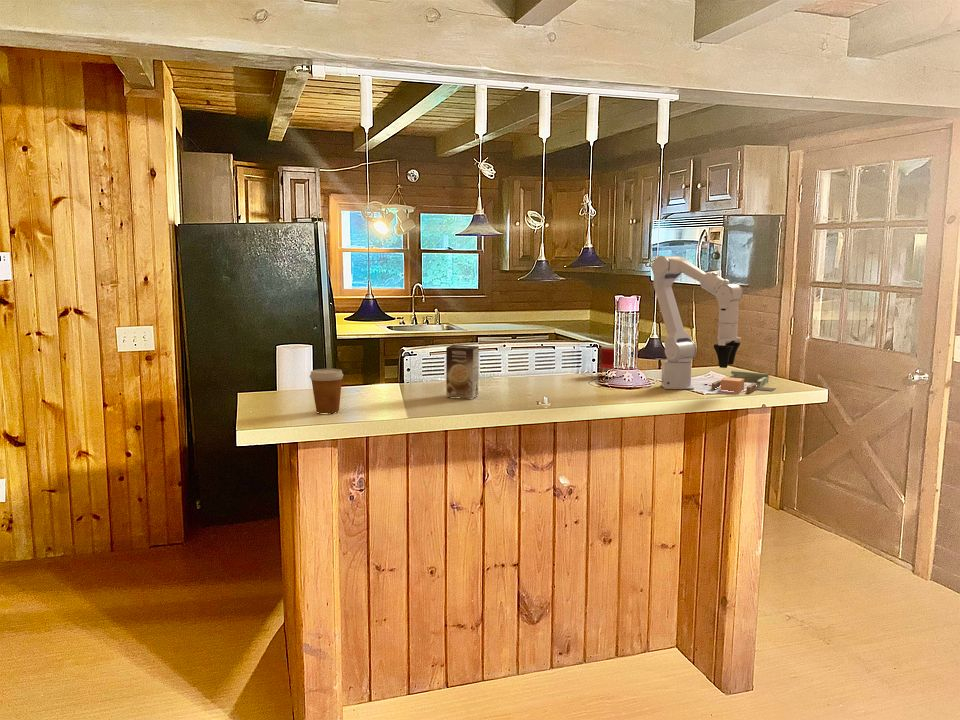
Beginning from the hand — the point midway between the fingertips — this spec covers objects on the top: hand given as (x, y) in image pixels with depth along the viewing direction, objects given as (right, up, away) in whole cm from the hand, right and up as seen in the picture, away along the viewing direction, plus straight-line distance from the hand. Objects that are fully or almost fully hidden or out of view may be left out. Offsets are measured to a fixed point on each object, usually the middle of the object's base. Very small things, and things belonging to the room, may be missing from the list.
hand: (726, 366), depth 239 cm
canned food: (-29, -4, +39) cm, 49 cm away
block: (+5, -8, +10) cm, 14 cm away
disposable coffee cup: (-121, -13, -20) cm, 123 cm away
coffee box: (-83, -10, +1) cm, 83 cm away
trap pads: (+9, -7, +16) cm, 20 cm away
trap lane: (+11, -7, +18) cm, 22 cm away
